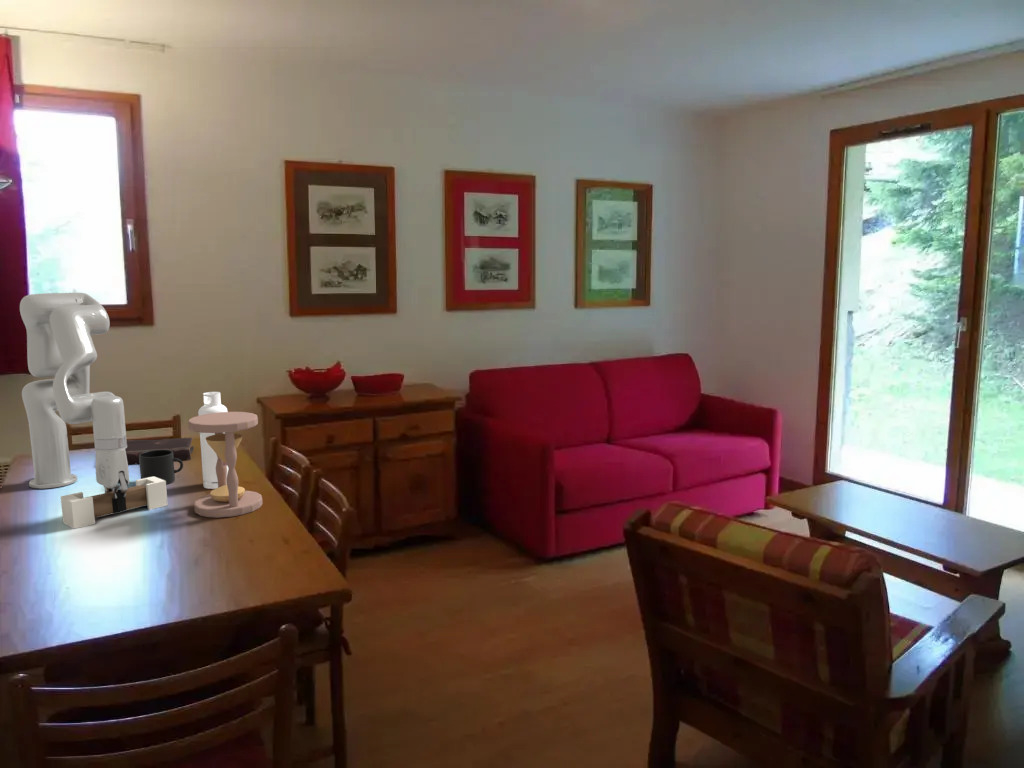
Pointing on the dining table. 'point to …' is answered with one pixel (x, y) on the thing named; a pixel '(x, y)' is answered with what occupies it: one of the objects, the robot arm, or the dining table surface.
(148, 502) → the white u-channel cradle
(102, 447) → the robot arm
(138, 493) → the rail
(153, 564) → the dining table surface
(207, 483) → the bottle
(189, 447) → the diary
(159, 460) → the mug
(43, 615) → the dining table surface
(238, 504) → the hourglass
